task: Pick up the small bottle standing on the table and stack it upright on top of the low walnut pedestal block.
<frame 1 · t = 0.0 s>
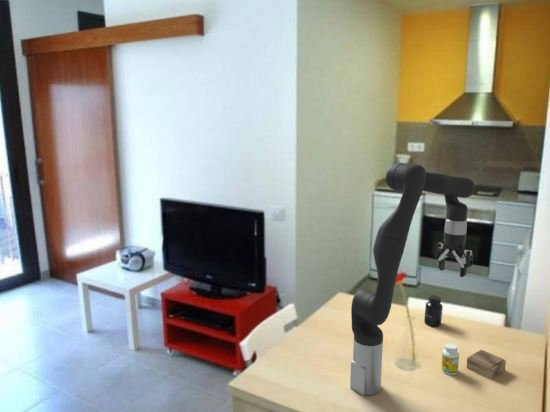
hand: (452, 273, 173), 29 cm above the table, tool pointing down, fingers open, 8 cm apart
supplement bottle 2: (449, 371, 162), on the table
pedestal: (485, 369, 163), on the table
supplement bottle: (432, 324, 196), on the table
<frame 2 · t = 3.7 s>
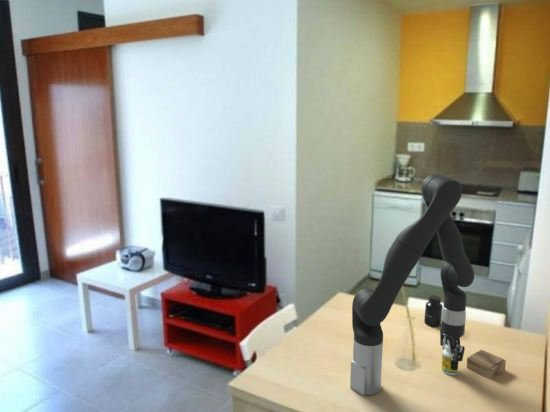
hand: (449, 364, 161), 2 cm above the table, tool pointing down, fingers closed on supplement bottle 2, 5 cm apart
supplement bottle 2: (449, 371, 162), on the table, touching gripper
everything else where it was.
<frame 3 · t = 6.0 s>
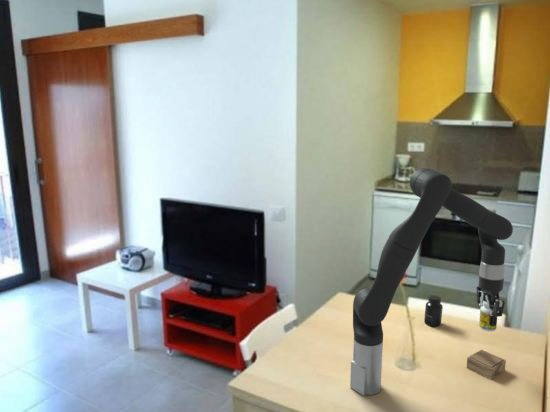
hand: (488, 321, 158), 18 cm above the table, tool pointing down, fingers closed on supplement bottle 2, 5 cm apart
supplement bottle 2: (487, 328, 159), point 16 cm above the table, touching gripper
everything else where it was.
when the fingers open (8 cm above the table, at t = 8.8 s): supplement bottle 2 moves 1 cm, resting on pedestal.
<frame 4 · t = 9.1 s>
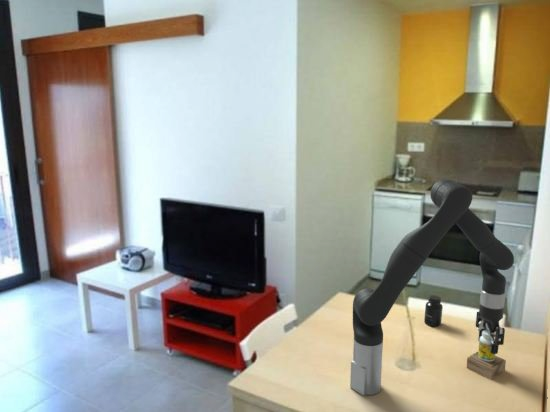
hand: (487, 347, 161), 8 cm above the table, tool pointing down, fingers open, 7 cm apart
supplement bottle 2: (486, 358, 162), point 4 cm above the table, touching pedestal
everything else where it was.
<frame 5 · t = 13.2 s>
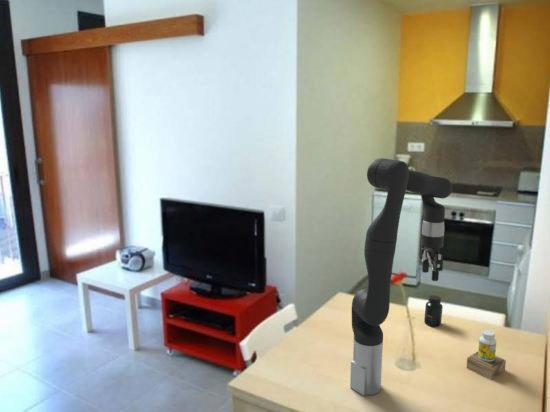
hand: (429, 276, 168), 30 cm above the table, tool pointing down, fingers open, 8 cm apart
nothing on the table moved.
at the end: supplement bottle 2 0.1 cm off-centre on the pedestal, point 4.1 cm above the pedestal's base; supplement bottle 2 tilted 0°; the gripper is holding nothing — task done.
